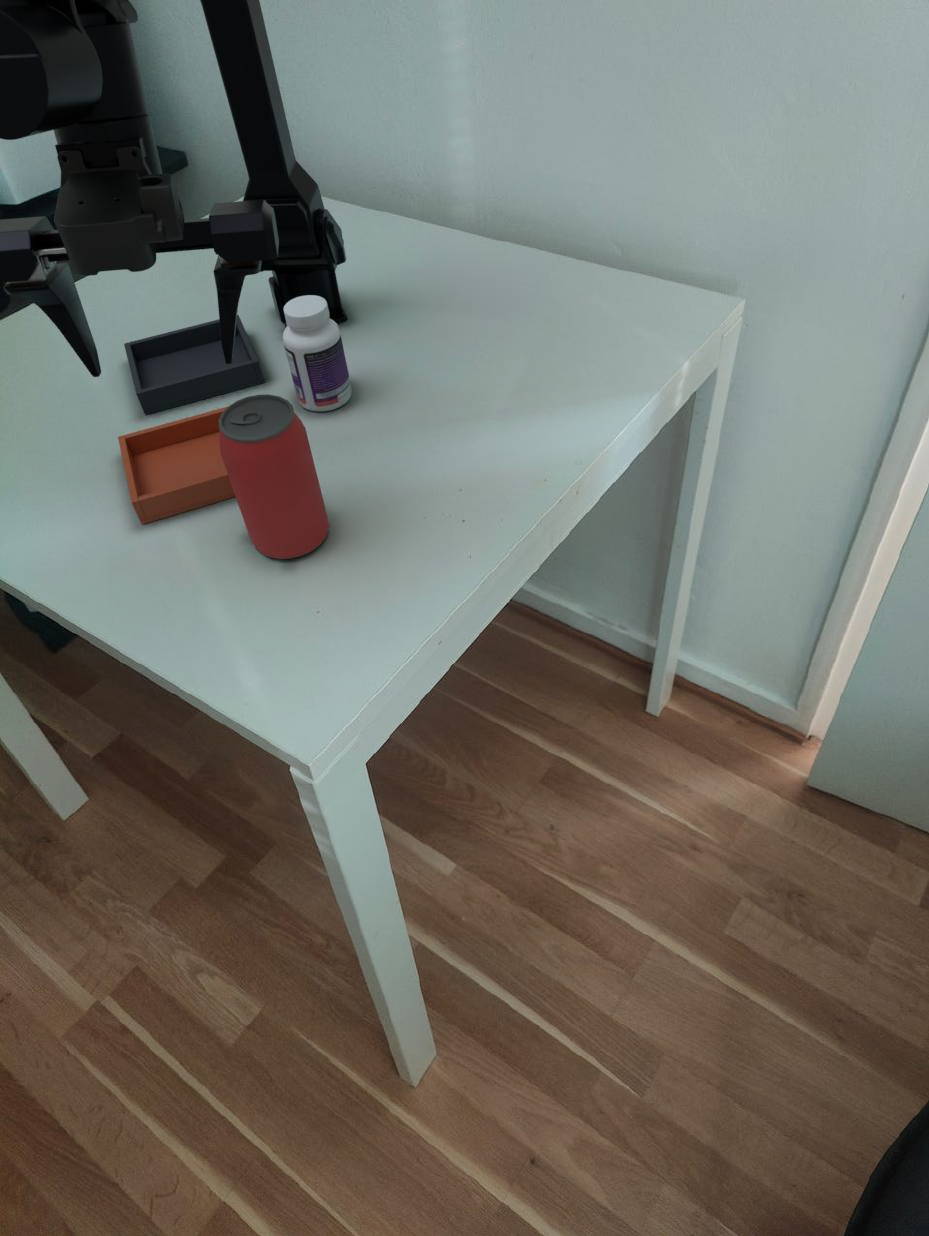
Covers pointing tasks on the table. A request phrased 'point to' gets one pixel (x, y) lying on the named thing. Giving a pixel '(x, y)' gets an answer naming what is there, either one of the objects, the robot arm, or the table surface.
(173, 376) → the can tray
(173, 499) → the tray
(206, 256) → the table surface
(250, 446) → the beer can
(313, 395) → the pill bottle
